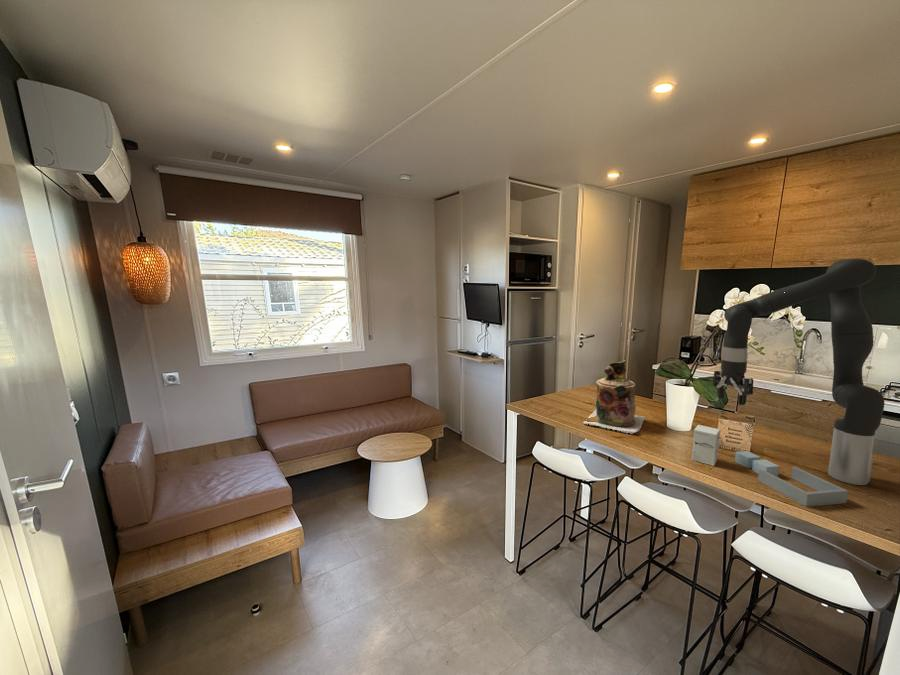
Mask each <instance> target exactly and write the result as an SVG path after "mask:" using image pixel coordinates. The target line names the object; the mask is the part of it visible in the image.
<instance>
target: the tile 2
mask: <svg viewBox="0 0 900 675" xmlns="http://www.w3.org/2000/svg"><path fill="white" fill-rule="evenodd" d="M761 469H763V470H764V471H766V472H768V473H770V474H772V475H774V476H776V477H778V478H779V475H780V474H779V473H780V466H779V465H778V464H775V463H773V462H771V461H769V460H768V459H760V460H753V466H752V467H751V472H755V474H758V475H759V470H761Z"/></svg>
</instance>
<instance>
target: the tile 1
mask: <svg viewBox="0 0 900 675" xmlns="http://www.w3.org/2000/svg"><path fill="white" fill-rule="evenodd" d="M734 455H735V456H734V457H735V459H734V462H736V463H737V464H739V465H741V466H743V467H745V468H747V469H749V468H751V469H752V466H753V460H761V456H759V455H757V454H754V453H753V452H750V451H749V450H745V451H735V454H734Z"/></svg>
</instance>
